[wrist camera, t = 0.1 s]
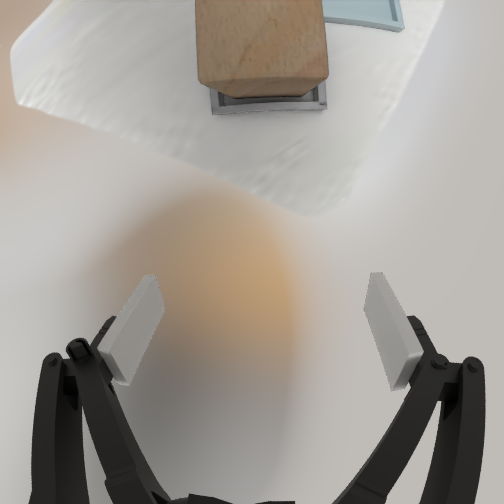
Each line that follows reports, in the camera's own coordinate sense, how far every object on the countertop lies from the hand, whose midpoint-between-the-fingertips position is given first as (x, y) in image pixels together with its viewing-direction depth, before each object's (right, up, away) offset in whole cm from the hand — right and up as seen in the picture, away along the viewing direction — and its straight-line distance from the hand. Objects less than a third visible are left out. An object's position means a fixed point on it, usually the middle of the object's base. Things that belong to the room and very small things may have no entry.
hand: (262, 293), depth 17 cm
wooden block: (+1, +29, +17) cm, 33 cm away
